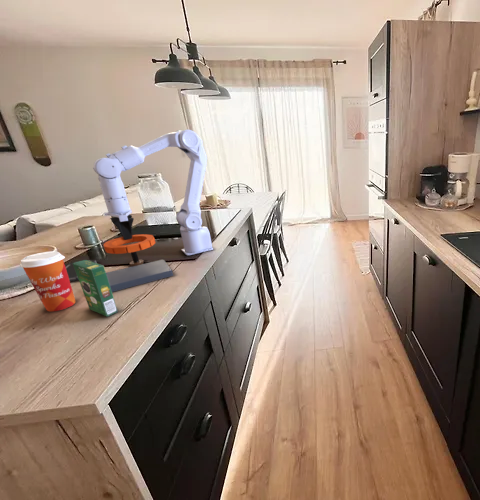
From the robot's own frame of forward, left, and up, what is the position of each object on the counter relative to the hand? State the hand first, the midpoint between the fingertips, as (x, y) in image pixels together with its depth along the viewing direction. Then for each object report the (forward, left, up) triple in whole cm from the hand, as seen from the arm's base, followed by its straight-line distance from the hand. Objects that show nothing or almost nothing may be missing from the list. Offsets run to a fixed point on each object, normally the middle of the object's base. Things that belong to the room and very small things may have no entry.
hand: (127, 238), depth 96 cm
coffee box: (+10, +29, -10) cm, 33 cm away
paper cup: (+18, +18, -10) cm, 28 cm away
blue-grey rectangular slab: (0, +12, -10) cm, 16 cm away
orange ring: (0, +5, -1) cm, 6 cm away
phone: (+15, -6, -10) cm, 19 cm away
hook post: (-1, -1, -10) cm, 10 cm away
